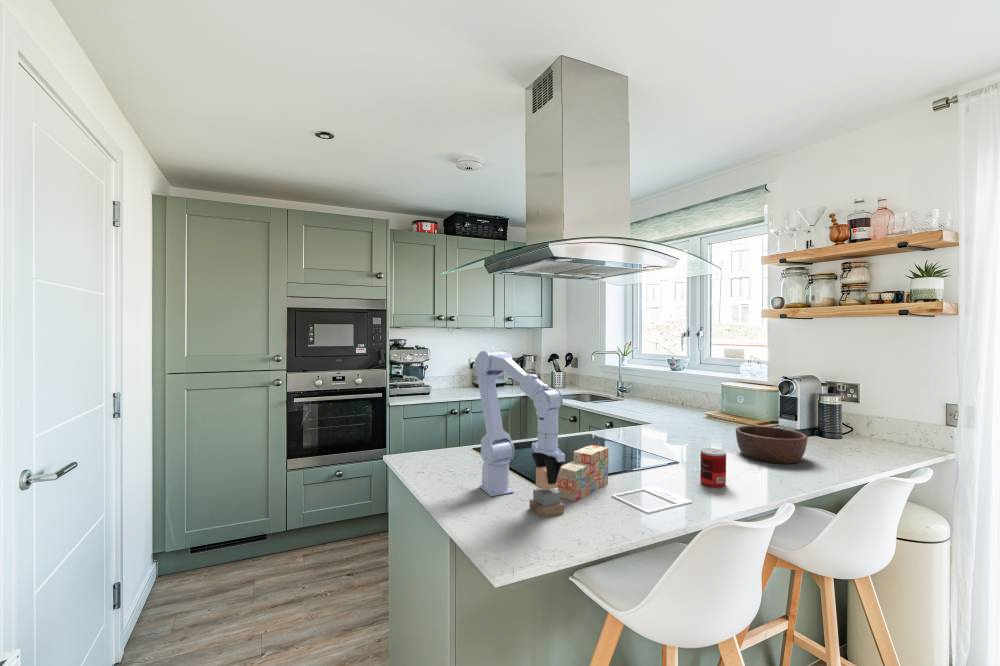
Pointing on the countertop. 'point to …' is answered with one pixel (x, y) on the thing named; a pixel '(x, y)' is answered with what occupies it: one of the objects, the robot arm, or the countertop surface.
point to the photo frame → (659, 493)
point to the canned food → (713, 467)
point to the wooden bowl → (771, 444)
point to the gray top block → (546, 496)
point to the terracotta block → (544, 479)
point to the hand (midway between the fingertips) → (547, 480)
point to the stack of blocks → (584, 473)
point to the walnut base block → (546, 509)
